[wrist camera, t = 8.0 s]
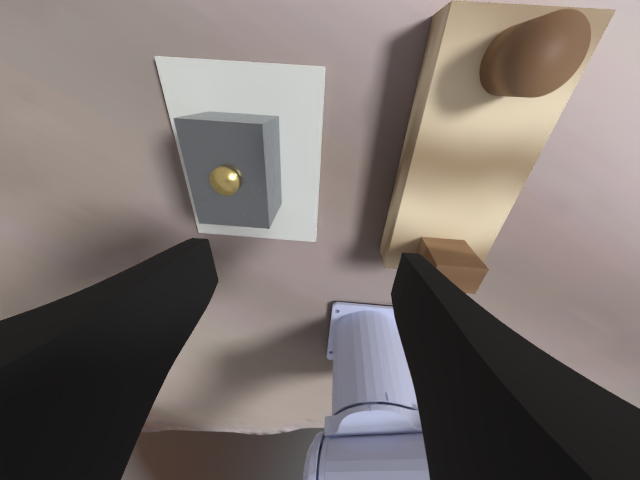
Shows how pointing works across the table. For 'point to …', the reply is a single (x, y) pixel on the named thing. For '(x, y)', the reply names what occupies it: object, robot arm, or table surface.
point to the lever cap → (232, 167)
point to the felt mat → (261, 99)
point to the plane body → (481, 126)
